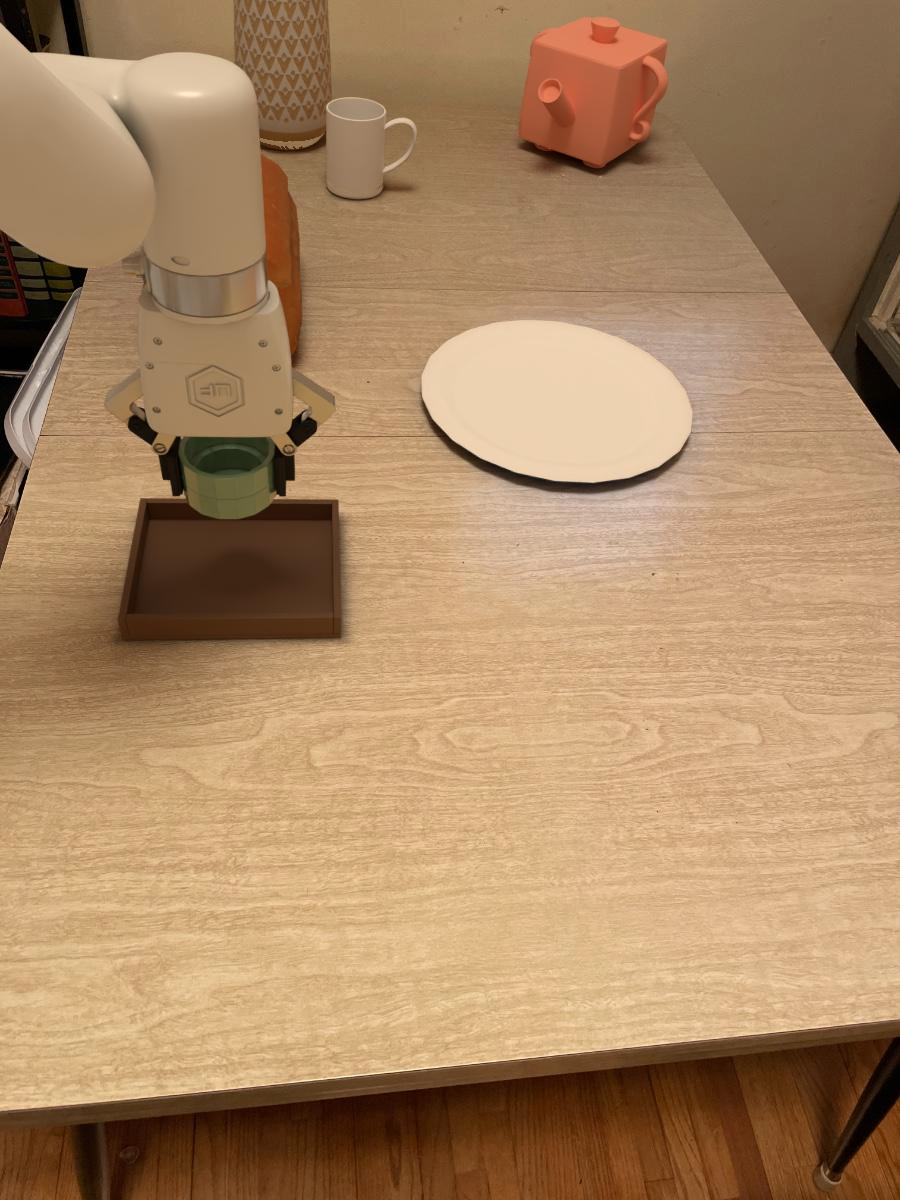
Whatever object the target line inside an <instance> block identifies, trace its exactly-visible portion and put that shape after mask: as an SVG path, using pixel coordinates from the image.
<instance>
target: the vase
mask: <svg viewBox="0 0 900 1200" xmlns="http://www.w3.org/2000/svg"><path fill="white" fill-rule="evenodd" d="M232 2H233V3H232V4H233V43H234V46H233V47H234V48H233V49H234V51H233V52H234V64H235V65H237V66H238V67H239V68H241V69H242V70H243V71H244V72H245V73H246V74H247V76H248V77H249V78H250V80H251V82H252V85H253V87H254V89H255V93H256V98H257V107H258V120H259V137H260V138H263V139H267V140H273V141H283V142H288V141H292V142H293V141H305V140H310V139H314V138H316V137H319V136H321V135H322V134H323V133H324V132H325V133H326V106H327V104H328V103H329V102H331V101H332V100H333V83H332V81H333V80H332V61H331V40H330V18H329V0H233V1H232ZM325 133H324V134H325ZM324 134H323V135H324ZM321 139H322V137H321V138H320V139H319V141H320V140H321ZM319 141H317V143H318V142H319ZM260 146H263V147H266V148H269V149H273V150H278V151H299V150H304V149H308V148H307V147H305V148H303V147H302V146H301V147H299V150H298V149H296V148H295V147H294V146H293V148H294V150H292V149H289V148H288V147H287V146H285V148H286V149H287V150H286V149H285V148H284V147H283V146H281V148H282V149H281V148H280V147H279V146H276V145H271V144H267V143H263V142H261V141H260ZM310 147H312V146H311V145H310Z"/></svg>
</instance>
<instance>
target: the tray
mask: <svg viewBox="0 0 900 1200" xmlns="http://www.w3.org/2000/svg"><path fill="white" fill-rule="evenodd" d="M339 503H340V502H339V499H331V498H330V499H325V498H323V499H317V498H316V499H315V498H312V499H310V498H309V499H308V498H307V499H306V498H274V500H273V501H272V503H271V504H270V505H269V506H268V507H266V508H265V509H263V510H262V511H260V512H259V513H257V514H255V515H252V516H248V517H245V518H241V519H216V518H213V517H209V516H206V515H203V514H201V513H199V512H198V511H197V510H195V509H194V508H192V507H191V506H190V505H189V503H188V501H187V499H186V498H182V497H181V498H180V497H179V498H178V497H176V498H175V497H174V498H167V497H166V498H165V497H162V498H161V497H160V498H159V497H148V498H147V497H140V498H139V503H138V508H137V514H136V519H135V525H134V529H133V535H132V540H131V546H130V552H129V557H128V563H127V567H126V572H125V577H124V583H123V588H122V594H121V599H120V605H119V610H118V615H117V623H118V626H119V631H120V635H121V639H122V641H150V640H151V641H158V640H159V641H161V640H165V641H166V640H167V641H169V640H171V641H172V640H240V639H241V640H243V639H246V640H248V639H250V640H251V639H254V640H255V639H324V638H325V639H328V638H329V639H330V638H331V639H333V638H334V639H335V638H337V639H338V638H342V600H341V599H342V597H341V596H342V595H341V594H342V592H341V591H342V590H341V553H340V552H341V551H340V544H341V543H340V504H339Z"/></svg>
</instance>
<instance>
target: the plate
mask: <svg viewBox="0 0 900 1200" xmlns="http://www.w3.org/2000/svg"><path fill="white" fill-rule="evenodd" d="M420 378H421V380H420V383H421V399H422V402H423V404H424V405H425V408H426V410H427V413H428V414H429V417H430V419H431V420H432V422H433V423H434V424H435V425H436V426H437V427H438V428H439V429H440V430H441V431H442V432H443V433H444V434H445V436H446V437H448V439H449V440H450V441H451V442H453V443H454V444H455V445H457V446H458V447H460V448H462V449H464V450H465V451H466V452H468V453H469V454H471V455H472V456H474V457H475V458H477V459H478V460H480V461H483V462H485V463H488V464H490V465H493V466H495V467H498V468H501V469H503V470H505V471H508V472H510V473H512V474H514V475H520V476H524V477H529V478H533V479H537V480H543V481H546V482H553V483H563V484H583V485H585V484H586V485H596V484H603V483H611V482H619V481H625V480H630V479H633V478H636V477H638V476H642V475H644V474H647V473H649V472H652V471H654V470H658V469H659V468H660V467H662V466H663V465H664V464H666V463H667V462H668V461H670V460H671V459H672V458H674V457H675V456H677V454H679V453H680V452H681V450H682V448H683V447H684V445H685V443H686V442H687V440H688V438H689V437H690V435H691V433H692V427H693V426H692V424H693V413H694V411H693V408H692V405H691V402H690V400H689V396H688V394H687V390H686V389H685V387H683V385H682V384H681V383H680V381H679V380H678V379H677V378H676V376H675V375H674V374H673V372H672V371H671V370H670V369H669V368H667V366H665V365H664V364H663V363H662V362H660V361H659V360H658V359H656V358H655V357H654V356H653V355H651V354H650V353H649V352H647V351H645V350H643V349H641V348H640V347H638V346H636V345H634V344H632V343H630V342H628V340H624V339H623V338H620V337H618V336H615V335H612V334H609V333H606V332H604V331H601V330H598V329H595V328H592V327H589V326H584V325H578V324H574V323H573V324H572V323H569V322H563V321H556V320H541V319H519V320H507V321H496V322H492V323H488V324H485V325H481V326H477V327H473V328H470V329H467V330H465V331H463V332H461V333H459V334H457V335H455V336H453V337H451V338H450V339H448V340H446V341H444V342H443V343H442V344H441V345H440V346H439V348H437V349H436V350H435V351H434V352H433V353H432V354H431V355H430V356H429V357H428V359H427V362H426V363H425V366H424V368H423V371H422V374H421V375H420Z"/></svg>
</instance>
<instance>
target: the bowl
mask: <svg viewBox="0 0 900 1200" xmlns="http://www.w3.org/2000/svg"><path fill="white" fill-rule="evenodd" d="M274 452H275V443H274V442H273V440H272V439H271V438H270V437H183V439H182V440H181V441H180V443H179V450H178V458H179V465H180V471H181V477H182V484H183V495H184V497H185V499H187V501H188V503H189V505H190V506H191V507H192V508H194V509H195V510H197V511H198V512H199V513H201V514H203V515H206V516H209V517H213V518H216V519H241V518H245V517H248V516H252V515H255V514H257V513H259V512H260V511H262V510H263V509H265V508H266V507H268V506H269V505H270V504H271V503H272V501H273V500H274V499H276V497H277V496H278V495H277V494H276V479H275V463H274Z"/></svg>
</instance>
